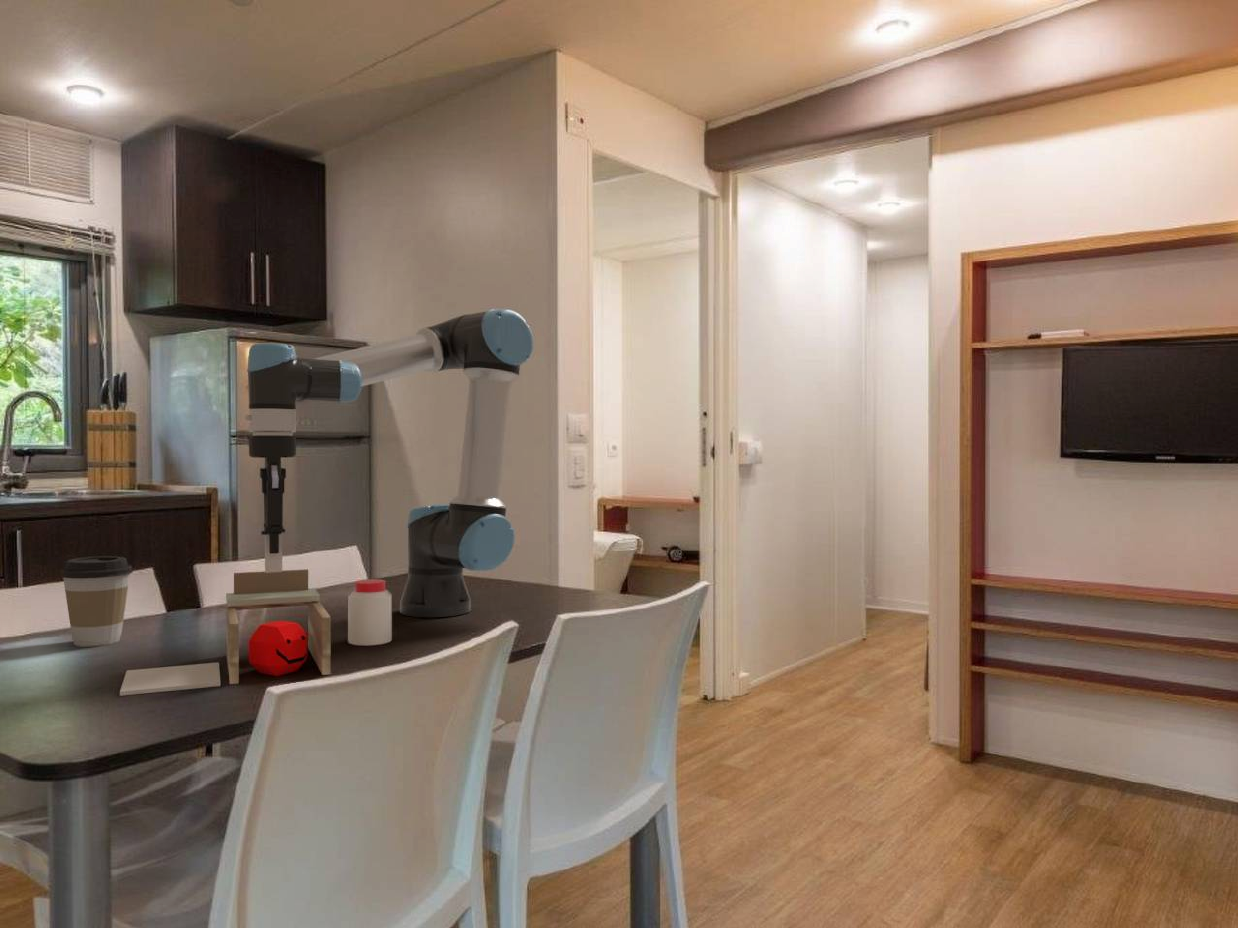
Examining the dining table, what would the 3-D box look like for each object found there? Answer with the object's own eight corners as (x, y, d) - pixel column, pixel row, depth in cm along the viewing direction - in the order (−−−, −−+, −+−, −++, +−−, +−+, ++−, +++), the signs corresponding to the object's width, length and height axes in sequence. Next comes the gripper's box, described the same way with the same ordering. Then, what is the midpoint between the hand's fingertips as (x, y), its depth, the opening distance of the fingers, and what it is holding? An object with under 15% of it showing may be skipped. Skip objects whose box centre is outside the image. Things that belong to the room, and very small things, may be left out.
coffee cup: (147, 639, 161) (147, 557, 161) (87, 652, 151) (86, 565, 150) (106, 633, 166) (106, 554, 165) (45, 645, 155) (45, 560, 155)
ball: (274, 680, 133) (274, 630, 133) (240, 673, 137) (240, 625, 137) (316, 669, 140) (316, 622, 140) (282, 663, 144) (282, 616, 144)
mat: (218, 665, 142) (218, 662, 142) (220, 685, 130) (220, 681, 130) (126, 674, 136) (126, 670, 136) (119, 695, 124) (119, 691, 124)
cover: (314, 593, 157) (314, 568, 157) (319, 600, 150) (319, 574, 149) (226, 599, 151) (226, 572, 150) (227, 606, 143) (227, 579, 143)
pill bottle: (400, 638, 164) (400, 579, 164) (375, 646, 156) (375, 585, 156) (364, 635, 166) (365, 577, 166) (339, 643, 159) (339, 583, 159)
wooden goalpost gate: (315, 647, 155) (315, 597, 155) (330, 674, 137) (330, 616, 137) (226, 655, 149) (226, 602, 149) (229, 684, 131) (230, 624, 131)
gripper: (247, 434, 154) (248, 568, 155) (250, 434, 143) (251, 578, 143) (292, 434, 158) (293, 565, 158) (299, 434, 146) (300, 575, 146)
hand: (273, 571), depth 151 cm, fingers closed
